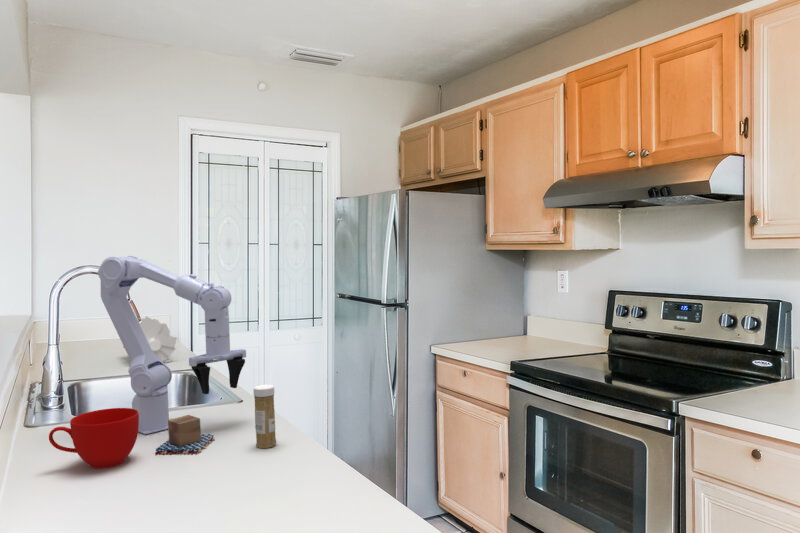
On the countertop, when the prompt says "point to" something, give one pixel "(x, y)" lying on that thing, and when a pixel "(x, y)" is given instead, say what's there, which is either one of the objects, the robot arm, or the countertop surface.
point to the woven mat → (185, 446)
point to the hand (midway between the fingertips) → (219, 390)
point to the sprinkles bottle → (264, 416)
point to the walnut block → (184, 430)
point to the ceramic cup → (102, 436)
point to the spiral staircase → (158, 337)
